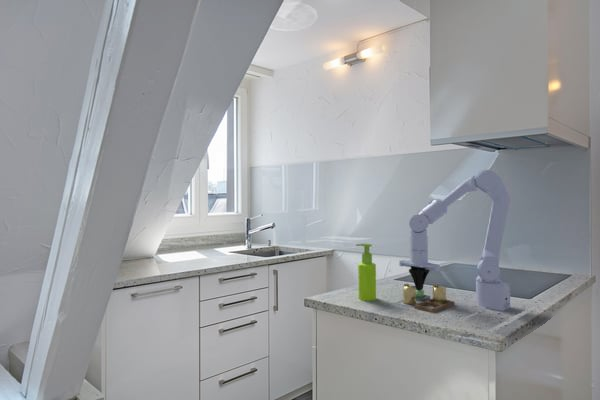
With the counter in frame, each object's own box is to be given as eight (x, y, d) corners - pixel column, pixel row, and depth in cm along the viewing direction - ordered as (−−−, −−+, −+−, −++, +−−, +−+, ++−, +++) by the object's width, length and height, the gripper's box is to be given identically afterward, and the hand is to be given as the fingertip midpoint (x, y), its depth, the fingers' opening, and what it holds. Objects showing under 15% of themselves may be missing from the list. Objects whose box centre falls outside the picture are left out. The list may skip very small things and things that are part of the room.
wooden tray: (456, 308, 125) (456, 301, 125) (435, 317, 117) (435, 309, 117) (433, 304, 131) (433, 297, 131) (412, 311, 123) (412, 304, 123)
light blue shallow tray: (425, 306, 129) (425, 302, 129) (411, 311, 123) (411, 307, 123) (407, 302, 134) (407, 298, 134) (394, 306, 128) (394, 302, 128)
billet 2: (448, 306, 126) (448, 285, 126) (442, 308, 123) (441, 287, 123) (437, 303, 129) (436, 283, 129) (430, 305, 126) (430, 285, 126)
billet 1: (418, 305, 128) (418, 285, 128) (411, 307, 126) (411, 287, 125) (407, 302, 131) (407, 283, 131) (400, 304, 129) (400, 284, 128)
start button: (425, 298, 133) (425, 290, 133) (421, 300, 131) (420, 292, 131) (418, 297, 136) (417, 289, 136) (413, 298, 134) (413, 290, 134)
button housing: (430, 302, 133) (430, 295, 133) (422, 305, 130) (422, 298, 130) (417, 299, 137) (417, 293, 137) (409, 302, 134) (408, 295, 134)
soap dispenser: (363, 298, 140) (362, 242, 140) (379, 301, 135) (378, 243, 135) (352, 301, 135) (352, 243, 135) (369, 305, 131) (368, 245, 130)
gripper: (444, 250, 131) (445, 291, 131) (407, 246, 142) (407, 284, 142) (433, 252, 126) (434, 294, 126) (395, 248, 137) (396, 287, 137)
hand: (419, 289), depth 134 cm, fingers closed
